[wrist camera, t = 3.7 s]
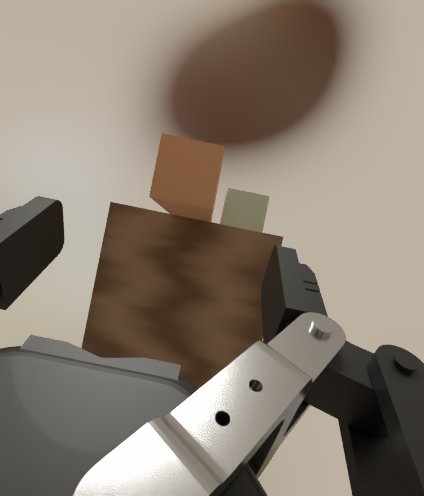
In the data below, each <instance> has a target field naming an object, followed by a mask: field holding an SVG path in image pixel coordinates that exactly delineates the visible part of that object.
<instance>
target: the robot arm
mask: <svg viewBox="0 0 424 496" xmlns="http://www.w3.org/2000/svg"><path fill="white" fill-rule="evenodd" d="M63 244H64V223H63V207H62V203H61V202H60V201H59V200H54V199H49V198H44V197H40V196H38V197H35V198H34V199H32V200H31V201H29V202H28V203H27V204H25V205H23V206H20V207H17V208H13V209H10V210H7V211H5V212H4V213H2V214H1V215H0V309H3V310H6V309H7V308H8V307H9V306H10V305H11V304H12V303H13V302H14V301H15V300H16V299H17V298H18V297H19V296H20V294H21V293H22V292H23V291H24V290H25V289H26V288H27V287H28V286H29V285H30V284H31V283H32V282H33V281H34V280H35V279H36V278H37V276H38V275H39V274H40V273H41V272H42V271H43V270H44V269H45V268H46V267H47V266H48V265H49V264H50V263H51V262H52V261H53V260H54V259H55V257H57V256H58V254H59V253H60V252H61V250H62V248H63ZM317 284H318V283H317V280H316V277H315V274H314V273H313V272H312V270H310V268H309V267H308V266H307V265H305V264H300V263H299V261H298V258H297V254H296V250H295V249H292V248H286V247H282V246H277V245H275V246H274V248H273V251H272V254H271V257H270V260H269V263H268V266H267V269H266V272H265V275H264V278H263V282H262V287H261V307H262V325H263V341H262V340H260V341H257V342H256V343H254V344H253V345H252V346H251V347H250V348H248V349H247V350H246V351H245V352H244V353H242V354H241V355H240V356H239V357H237V358H236V359H235V360H234V361H233V362H231V363H230V364H229V365H228V366H227V367H225V368H224V369H223V370H222V371H220V372H219V373H218V374H217V375H216V376H214V377H213V378H212V379H211V380H210V381H208V382H207V383H206V384H205V385H204V386H202V387H201V388H200V389H198V388H197V387H196V386H194V385H193V384H191V383H190V382H188V381H187V380H185V379H183V378H181V377H179V372H180V367H181V365H179V364H174V363H169V362H164V361H159V360H154V359H149V358H102V357H99V356H96V355H94V354H92V353H90V352H88V351H85V350H83V349H81V348H79V347H77V346H75V345H72V344H70V343H68V342H64V341H59V340H53V339H49V338H43V337H38V336H33V335H30V336H29V338H28V339H27V340H26V341H25V343H24V344H23V345H22V346H16V347H7V348H2V349H0V496H267V494H266V492H265V491H264V489H263V487H262V486H261V484H260V482H259V481H258V477H259V476H260V475H261V473H262V471H264V469H265V468H266V466H267V465H268V463H269V461H270V460H271V459H272V457H273V455H274V454H275V452H276V451H277V449H278V448H279V446H280V445H281V444H282V442H283V441H284V439H285V438H286V437H287V436H288V434H289V433H290V432H291V430H292V429H293V428H294V426H295V425H296V424H297V422H298V421H299V420H300V419H301V417H302V416H303V415H304V413H305V412H306V411H307V409H308V408H309V407H310V405H311V406H314V407H315V408H318V409H320V410H322V411H324V412H325V413H327V414H329V415H331V416H333V417H335V418H337V419H338V421H339V426H340V432H341V437H342V442H343V448H344V453H345V458H346V464H347V469H348V474H349V480H350V485H351V490H352V495H353V496H424V363H422V361H421V360H420V359H418V358H417V357H416V356H414V355H413V354H412V353H410V352H409V351H407V350H405V349H403V348H400V347H397V346H394V345H382V346H380V347H379V348H378V349H377V350H376V352H375V353H371V352H369V351H367V350H364V349H362V348H359V347H358V346H355V345H353V344H351V343H349V342H348V341H346V336H345V333H344V331H343V330H342V328H341V327H340V326H339V325H338V324H337V323H336V322H335V321H333V320H332V319H331V318H329V317H328V316H327V313H326V309H325V306H324V303H323V299H322V297H321V293H320V290H319V286H318V285H317Z"/></svg>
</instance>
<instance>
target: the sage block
mask: <svg viewBox="0 0 424 496" xmlns="http://www.w3.org/2000/svg"><path fill="white" fill-rule="evenodd" d="M268 201H269V196H265V195H260V194H255V193H250V192H245V191H240V190H235V189H230V188H228V191H227V193H226V197H225V202H224V207H223V213H222V217H221V222H220V224H222V225H227V226H232V227H236V228H241V229H246V230H251V231H256V232H261V233H262V231H263V226H264V221H265V216H266V211H267V205H268Z"/></svg>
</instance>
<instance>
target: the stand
mask: <svg viewBox="0 0 424 496" xmlns="http://www.w3.org/2000/svg"><path fill="white" fill-rule="evenodd" d="M282 240H283V237H281V236H276V235H271V234H266V233H261V232H256V231H251V230H246V229H241V228H236V227H232V226H227V225H222V224H217V223H212V222H207V221H202V220H197V219H192V218H187V217H182V216H177V215H172V214H167V213H162V212H157V211H152V210H147V209H143V208H138V207H133V206H128V205H123V204H118V203H113V202H111V203H110V208H109V213H108V218H107V223H106V228H105V233H104V238H103V243H102V248H101V253H100V259H99V263H98V268H97V274H96V279H95V283H94V288H93V293H92V299H91V304H90V309H89V314H88V319H87V324H86V329H85V334H84V339H83V344H82V349H83V350H85V351H88V352H90V353H92V354H94V355H96V356H99V357H102V358H149V359H154V360H159V361H164V362H169V363H174V364H179V365H181V367H180V372H179V377H181V378H183V379H185V380H187V381H188V382H190V383H191V384H193V385H194V386H196V387H197V388H198V389H200V388H201V387H202V386H204V385H205V384H206V383H207V382H208V381H210V380H211V379H212V378H213V377H214V376H216V375H217V374H218V373H219V372H220V371H222V370H223V369H224V368H225V367H227V366H228V365H229V364H230V363H231V362H233V361H234V360H235V359H236V358H237V357H239V356H240V355H241V354H242V353H244V352H245V351H246V350H247V349H248V348H250V347H251V346H252V345H253V344H254V343H256V342H257V341H260V340H262V338H263V325H262V307H261V287H262V282H263V278H264V275H265V272H266V269H267V266H268V263H269V260H270V257H271V254H272V251H273V248H274V246H275V245H277V246H281V244H282Z"/></svg>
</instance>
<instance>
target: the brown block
mask: <svg viewBox="0 0 424 496" xmlns="http://www.w3.org/2000/svg"><path fill="white" fill-rule="evenodd" d="M224 148H225V146H221V145H216V144H211V143H206V142H201V141H196V140H192V139H187V138H182V137H177V136H172V135H167V134H163V133H162V136H161V141H160V146H159V151H158V156H157V161H156V166H155V171H154V176H153V181H152V186H151V191H150V196H149V197H151V198H152V199H153V200H154V201H155V202H157V203H158V204H159V205H160V206H162V207H163V208H164V209H165V210H166V211H168V212H169V213H170V214H172V215H177V216H182V217H187V218H192V219H197V220H202V221H207V222H211V219H212V214H213V209H214V204H215V198H216V193H217V187H218V182H219V177H220V171H221V165H222V159H223V154H224Z"/></svg>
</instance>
